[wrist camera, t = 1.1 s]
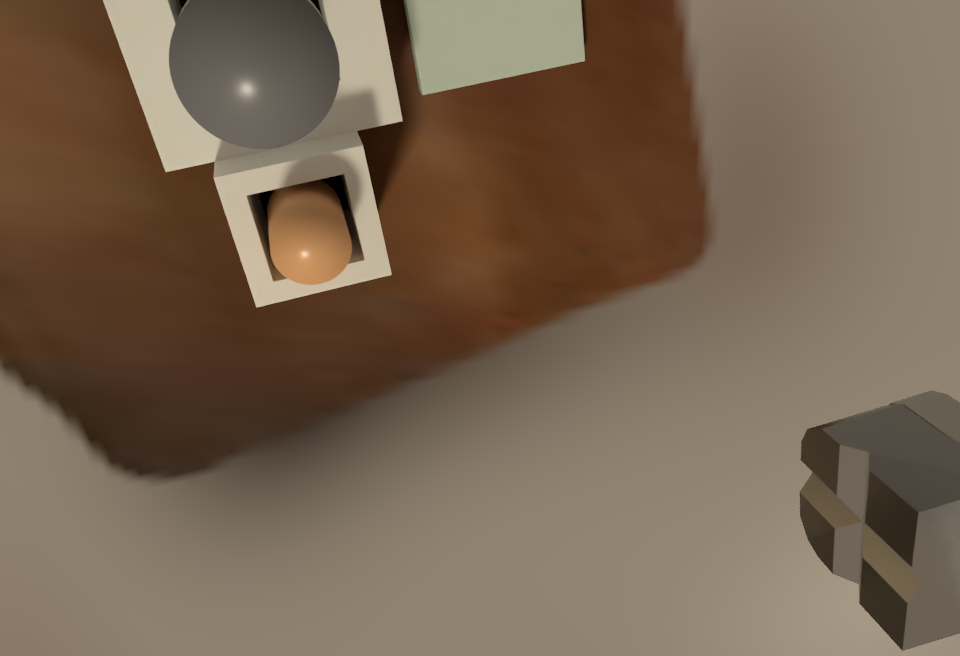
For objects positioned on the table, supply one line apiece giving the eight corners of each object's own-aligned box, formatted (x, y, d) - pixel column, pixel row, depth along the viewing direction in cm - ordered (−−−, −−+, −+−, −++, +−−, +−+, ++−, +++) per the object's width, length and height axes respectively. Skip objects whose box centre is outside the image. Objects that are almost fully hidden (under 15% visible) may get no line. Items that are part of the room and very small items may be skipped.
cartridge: (172, -48, 33) (143, -3, 23) (294, -69, 34) (318, -35, 24) (210, 76, 36) (200, 164, 26) (322, 53, 36) (355, 130, 26)
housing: (84, -106, 31) (55, -98, 26) (339, -148, 33) (358, -148, 28) (213, 259, 40) (210, 318, 35) (411, 213, 41) (435, 264, 36)
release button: (257, 185, 34) (260, 221, 31) (332, 169, 35) (341, 202, 32) (277, 252, 36) (282, 292, 33) (348, 235, 37) (359, 274, 33)
